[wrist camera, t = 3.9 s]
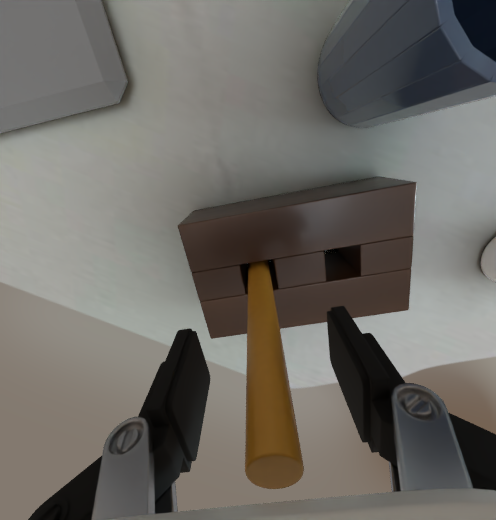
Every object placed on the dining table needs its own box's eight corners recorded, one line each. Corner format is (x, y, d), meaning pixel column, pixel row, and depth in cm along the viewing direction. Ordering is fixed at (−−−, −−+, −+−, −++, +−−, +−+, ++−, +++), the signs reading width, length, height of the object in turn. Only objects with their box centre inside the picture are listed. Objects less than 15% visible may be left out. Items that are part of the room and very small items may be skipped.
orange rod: (246, 246, 22) (239, 457, 7) (264, 243, 22) (300, 451, 6) (250, 262, 23) (250, 492, 7) (267, 259, 23) (307, 486, 7)
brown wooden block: (192, 210, 21) (177, 225, 17) (378, 176, 20) (417, 181, 15) (218, 305, 25) (210, 339, 20) (377, 280, 24) (408, 310, 19)
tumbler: (313, 13, 16) (448, -294, 5) (429, -14, 16) (861, -424, 5) (321, 136, 19) (421, 108, 8) (421, 116, 18) (680, 56, 7)
